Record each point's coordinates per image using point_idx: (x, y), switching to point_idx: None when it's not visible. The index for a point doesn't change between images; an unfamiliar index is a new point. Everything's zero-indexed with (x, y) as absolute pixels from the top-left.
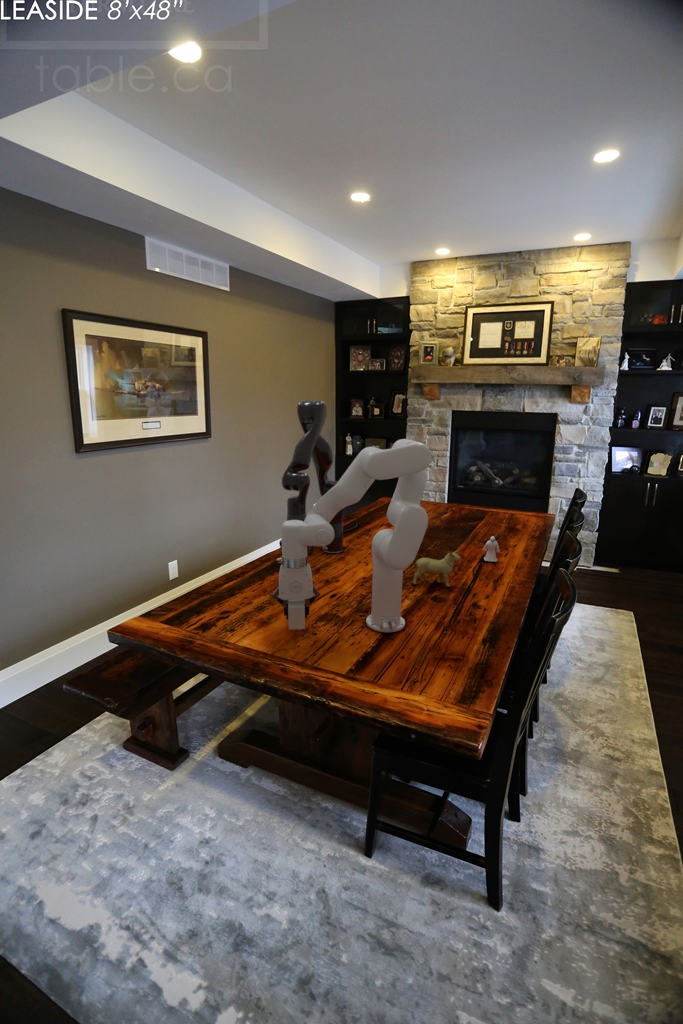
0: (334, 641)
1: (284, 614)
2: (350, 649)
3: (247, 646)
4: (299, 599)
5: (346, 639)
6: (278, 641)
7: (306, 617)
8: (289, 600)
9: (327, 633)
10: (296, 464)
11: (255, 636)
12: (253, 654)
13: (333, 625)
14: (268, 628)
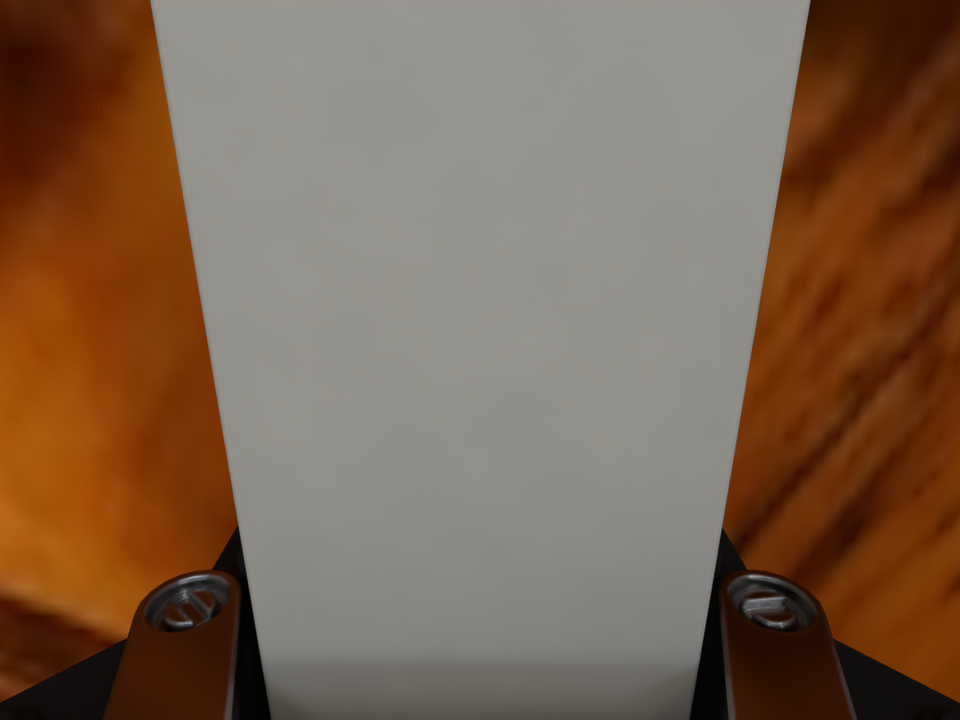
0: (830, 526)
1: None
2: (926, 643)
3: (17, 589)
4: (563, 667)
5: (954, 495)
6: None
7: None
8: (293, 701)
9: (803, 377)
10: None
11: (26, 417)
12: None
13: (925, 187)
14: (120, 237)
